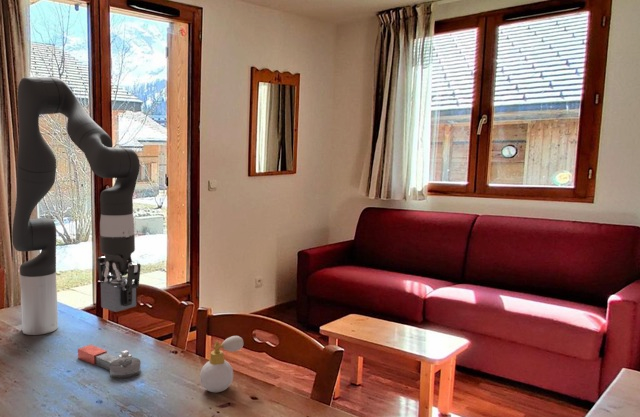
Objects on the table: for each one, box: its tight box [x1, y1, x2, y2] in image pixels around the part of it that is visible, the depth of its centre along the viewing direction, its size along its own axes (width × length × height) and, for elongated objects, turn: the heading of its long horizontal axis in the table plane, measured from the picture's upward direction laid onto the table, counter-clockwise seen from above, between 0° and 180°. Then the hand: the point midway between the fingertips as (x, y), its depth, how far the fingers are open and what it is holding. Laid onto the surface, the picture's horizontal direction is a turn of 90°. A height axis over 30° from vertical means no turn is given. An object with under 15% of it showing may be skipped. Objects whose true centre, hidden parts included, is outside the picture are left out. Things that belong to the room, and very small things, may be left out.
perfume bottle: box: [199, 335, 244, 393], centre depth 117 cm, size 8×10×12 cm
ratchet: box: [77, 344, 142, 380], centre depth 128 cm, size 20×7×6 cm, turn 57°
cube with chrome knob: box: [100, 279, 137, 313], centre depth 121 cm, size 6×6×6 cm
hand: (119, 302), depth 121 cm, fingers closed on cube with chrome knob, 5 cm apart
